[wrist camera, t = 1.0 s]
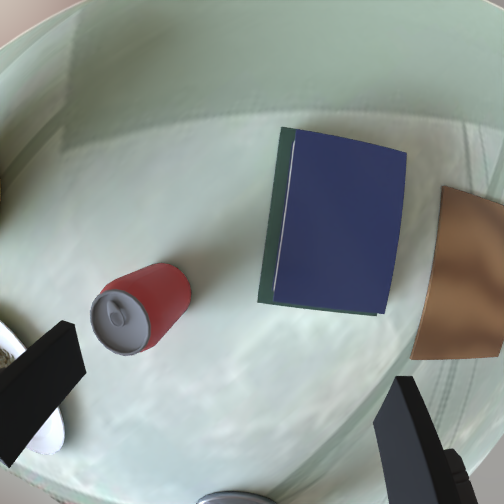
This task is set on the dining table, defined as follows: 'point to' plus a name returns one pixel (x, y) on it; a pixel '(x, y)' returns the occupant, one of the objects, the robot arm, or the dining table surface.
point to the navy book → (339, 223)
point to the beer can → (139, 308)
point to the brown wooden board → (464, 282)
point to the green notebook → (275, 226)
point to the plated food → (52, 432)
